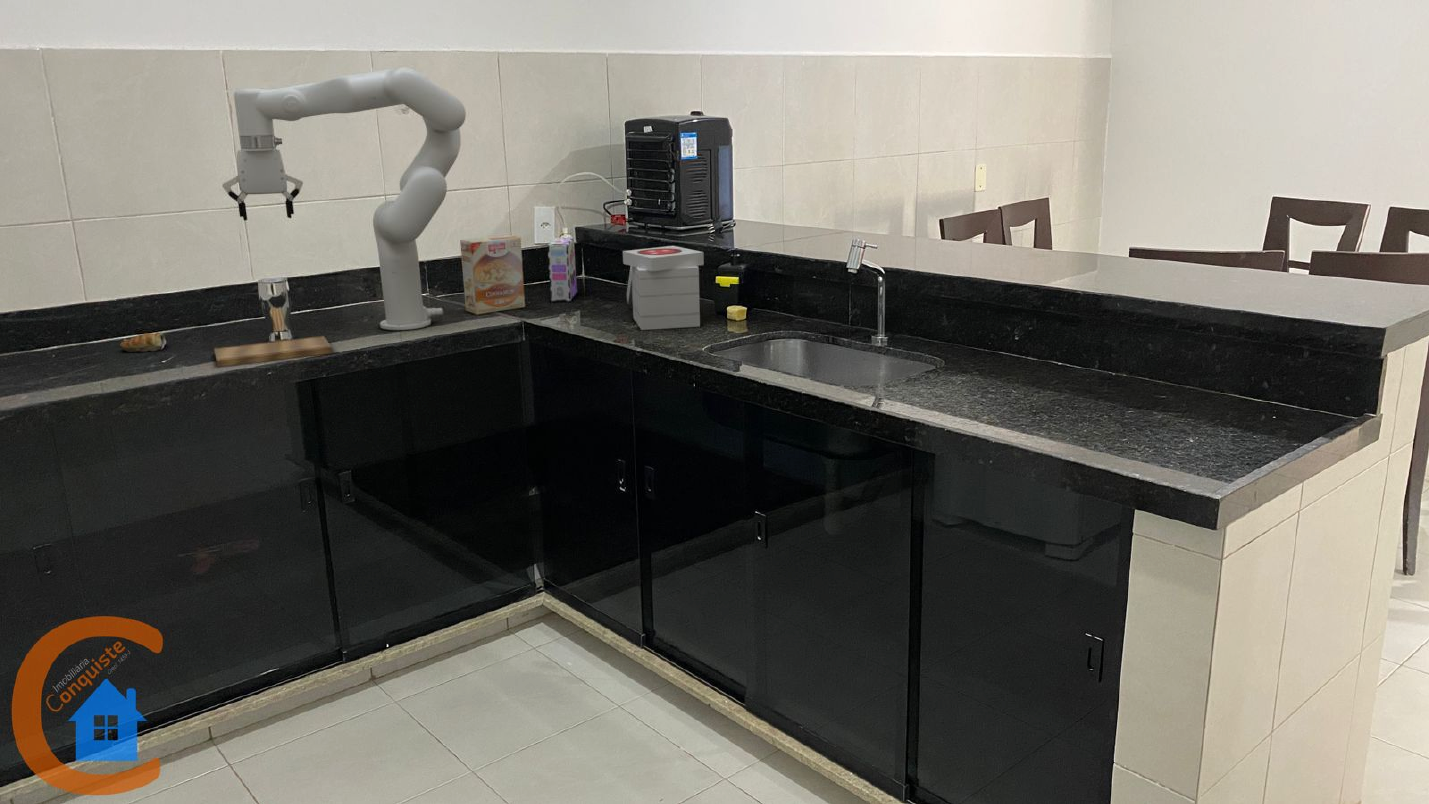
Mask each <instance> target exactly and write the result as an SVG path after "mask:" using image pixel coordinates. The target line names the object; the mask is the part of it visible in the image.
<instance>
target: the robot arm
mask: <svg viewBox="0 0 1429 804" xmlns="http://www.w3.org/2000/svg"><path fill="white" fill-rule="evenodd" d="M233 101H234V108H235V115H236V124H237V129H238V131H237V132H238V137H239V145H240V150H237V154H236V168H237V175H236V176H234V177H233V178H231V179H229V180H227V181H225V182H224V183H222V185H221V186H222V188H223V189H224V191H225V192H226V193H227V195H228V196H229V197H230V198H231V199H233V200H234V201H235V202H236V203H237V204H238V205H237V207H238V213H239V217H240V218H242V220H243V222H244V221H245V222H246V221H248V214H247V213H248V212H247V207H246V202H245V199H246V198H247V196H248V195H268V194H269V195H270V194H272V195H273V194H281V195H283V196H284V198H285V201H284V203H285V210H286V217H287V219H292V215H295V210H294V199H295V198H297V196H298V195H299V194H300V192H301V189H302V187H303V184H304V182H303V180H300V179H298V178H296V177H293V176H292V175H289V174H286V171H285V166H284V161H283V157H282V154H281V150H280V149H277V146H279V145H283V139H282V138H281V137H280V138H279V137H277V136H275V128H274V121H273V120H279V121H288V122H295V121H299V120H301V119H303V118H304V119H305V118H309V117H315V116H322V115H331V114H351V113H359V112H364V111H370V110H376V109H382V108H389V107H395V106H400V105H404V106H406V107H407V108H409V109H410V110H411V111H413V112H415V113H416V114H417V115H419V116H420V117H422V121H423V122H424V124H425V128H426V135H425V140H424V142H423V144H422V146H421V147H420V149H419V150H418V152H417V154H416V155H415V157H414V158H413V160H412V161H411V163H410V164H409V165H408V167H407V168H406V170H405V171H404V172H403V173H402V176H401V177H400V180H399V191H400V192H399V194H398V196H397V197H396V199H394V200H387V201H384V202H381V203H380V205H378V206H377V208H376V209H375V211H374V213H373V218H372V225H373V232H374V236H375V237H374V238H375V241H376V247H377V254H378V261H379V271H380V272H379V273H380V279H381V281H380V282H381V288H382V290H381V291H382V298H383V306H384V307H383V308H384V314H385V319H384V320H381V321H380V322H379V328H381V329H383V330H387V331H408V330H416V329H421V328H425V327H428V326H430V325H431V324H432V319H431V317H433V316H434V317H438V316H443V315H444V310H443V308H442V307H426V306H425V305H424V301H423V291H422V280H421V272H420V260H419V253H418V246H417V240H416V239H419V237H420V235H421V234H422V233H423V232H424V231H425V229H426V227H428V225H429V224H430V222H431V220H432V219H433V217H434V216H435V215H436V213H437V211H438V210H439V209H440V207H441V205H442V204H443V202H444V200H445V198H446V196H447V191H448V184H447V180H446V177H447V176H448V173H449V172H450V170H451V169H452V167H453V165H454V164H455V162H456V160H457V158H458V155H459V153H460V150H461V144H462V143H461V142H462V140H461V139H462V138H461V137H462V136H461V130H460V128H461V127H462V126H463V124H464V123H465V121H466V117H467V116H466V115H467V111H466V108H465V105H464V104H463V102H462V101H461V100H460V98H458V97H457V96H455V95H454V94H452V93H451V92H449V91H448V90H446V89H444V88H443V87H442V86H440V85H438V84H437V83H436V82H434V81H432V80H431V79H430V78H428V77H426V76H425V75H423V74H422V73H420V72H419V71H417V70H416V69H414V68H412V67H408V66H399V67H392V68H385V69H379V70H372V71H365V72H360V73H359V72H358V73H352V74H347V75H346V74H345V75H341V76H336V77H334V78H330V79H326V80H321V81H317V82H311V83H304V84H297V85H292V86H284V87H277V88H270V89H265V88H260V87H259V88H258V87H242V88H237V89H236V90H235V91H234V92H233ZM287 182H290V183H292V184H294V188H293V189H292V190H291V192H289V191H288V183H287ZM237 184H238V187H239V190H240V193H238V194H236V193H235V192H234V191H233V189H232V187H233V186H234V185H237Z"/></svg>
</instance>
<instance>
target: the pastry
mask: <svg viewBox="0 0 1429 804" xmlns="http://www.w3.org/2000/svg"><path fill="white" fill-rule="evenodd" d="M165 345H167V340H166V337H165V335H164V334H163V332H161V331H160V332H156V333H153V332H152V333H151V332H150V333H149V332H148V333H147V332H146V333H142V334H138V335H136V336H133V337H131V338H128V339H124V340H123V341H122V342H120V343H119V346H120V348H121V349H122V351H126V352H130V353H132V352H134V353H135V352H148V351H149V352H150V351H151V352H157V351H161V350H163V349H164V348H165Z"/></svg>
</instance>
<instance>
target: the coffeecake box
mask: <svg viewBox="0 0 1429 804" xmlns="http://www.w3.org/2000/svg"><path fill="white" fill-rule="evenodd" d="M521 238H522V237H521V236H517V235H511V234H507V235H496V236H487V237H478V238H469V239H460V240H459V243H460V245H459V246H460V255H461V266H462V280H463V289H464V291H463V292H464V293H463V294H464V303H465V311H466V312H469V313H472V314H474V315H476V316H477V315H483V314H489V313H496V312H503V311H509V310H515V309H522V308H526V300H525V299H526V297H525V285H524V284H525V283H524V282H525V281H524V271H523V255H522V240H521Z"/></svg>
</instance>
